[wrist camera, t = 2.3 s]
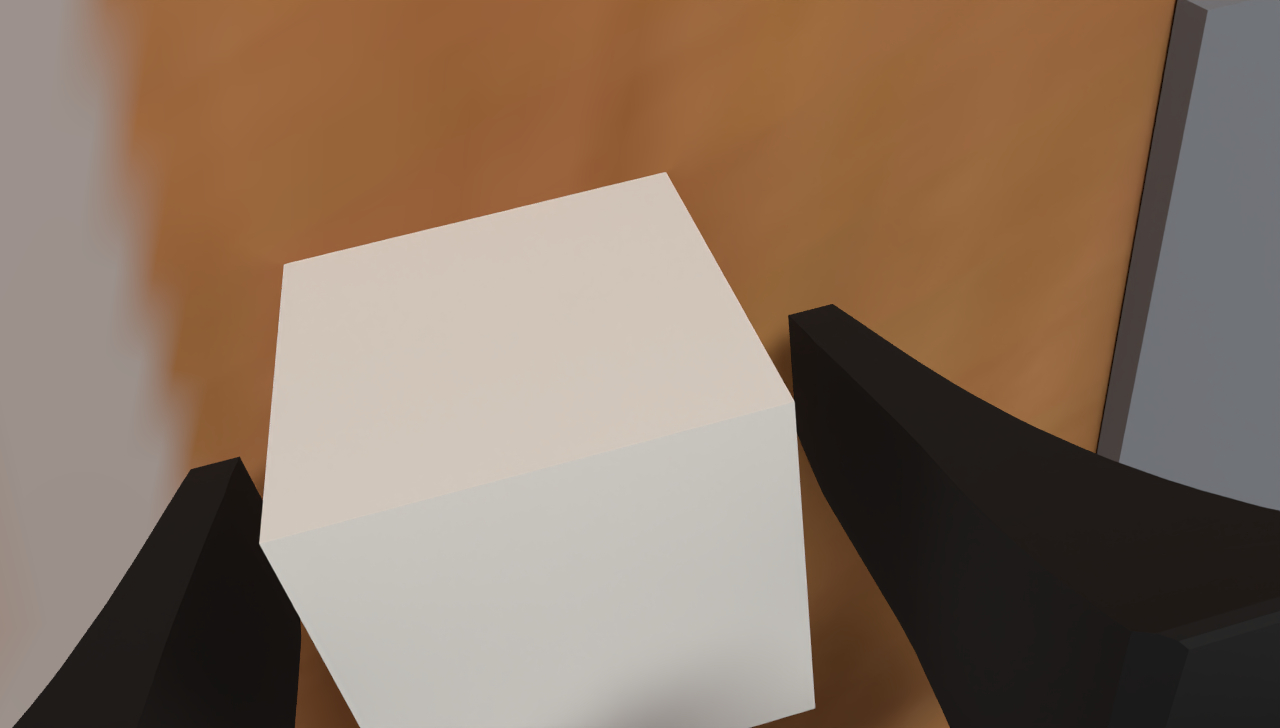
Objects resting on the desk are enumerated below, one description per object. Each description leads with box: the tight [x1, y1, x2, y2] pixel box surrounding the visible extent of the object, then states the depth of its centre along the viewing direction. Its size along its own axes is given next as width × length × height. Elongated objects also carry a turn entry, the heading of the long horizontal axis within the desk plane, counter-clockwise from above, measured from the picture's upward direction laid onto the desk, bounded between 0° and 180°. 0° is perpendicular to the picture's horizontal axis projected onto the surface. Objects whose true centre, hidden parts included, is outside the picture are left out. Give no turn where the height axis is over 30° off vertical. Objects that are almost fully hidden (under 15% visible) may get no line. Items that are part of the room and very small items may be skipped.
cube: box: [259, 172, 815, 728], centre depth 13 cm, size 5×5×5 cm
